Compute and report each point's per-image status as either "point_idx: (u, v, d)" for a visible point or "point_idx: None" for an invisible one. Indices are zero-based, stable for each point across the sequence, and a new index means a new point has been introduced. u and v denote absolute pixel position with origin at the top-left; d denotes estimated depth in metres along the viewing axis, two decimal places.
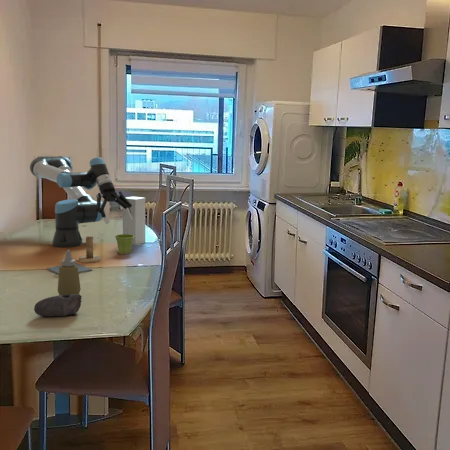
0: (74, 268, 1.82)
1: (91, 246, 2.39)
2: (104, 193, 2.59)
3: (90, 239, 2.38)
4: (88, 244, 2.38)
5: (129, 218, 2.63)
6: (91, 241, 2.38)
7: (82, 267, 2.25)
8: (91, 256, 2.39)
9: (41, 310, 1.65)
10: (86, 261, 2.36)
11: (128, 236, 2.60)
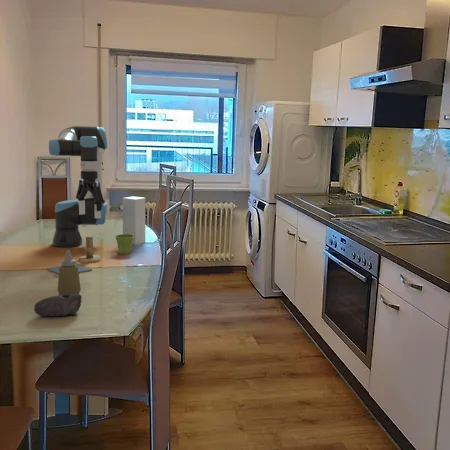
0: (74, 268, 1.82)
1: (91, 246, 2.39)
2: (83, 181, 2.36)
3: (90, 239, 2.38)
4: (88, 244, 2.38)
5: None
6: (91, 241, 2.38)
7: (82, 267, 2.25)
8: (91, 256, 2.39)
9: (41, 310, 1.65)
10: (86, 261, 2.36)
11: (128, 236, 2.60)
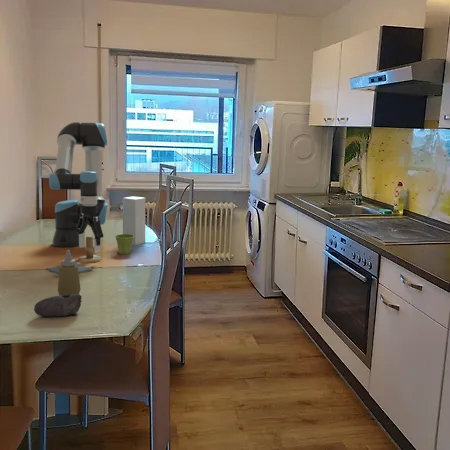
0: (74, 268, 1.82)
1: (91, 246, 2.39)
2: (83, 215, 2.39)
3: (90, 239, 2.38)
4: (88, 244, 2.38)
5: None
6: (91, 241, 2.38)
7: (82, 267, 2.25)
8: (91, 256, 2.39)
9: (41, 311, 1.65)
10: (86, 261, 2.36)
11: (128, 236, 2.60)
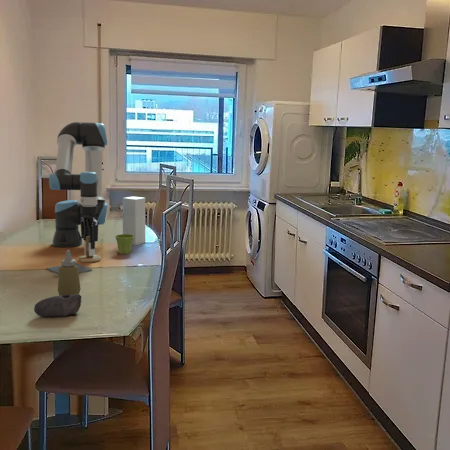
0: (74, 268, 1.82)
1: None
2: (83, 216, 2.39)
3: None
4: (88, 244, 2.38)
5: None
6: None
7: (82, 267, 2.25)
8: (91, 256, 2.39)
9: (41, 311, 1.65)
10: (86, 261, 2.36)
11: (128, 236, 2.60)
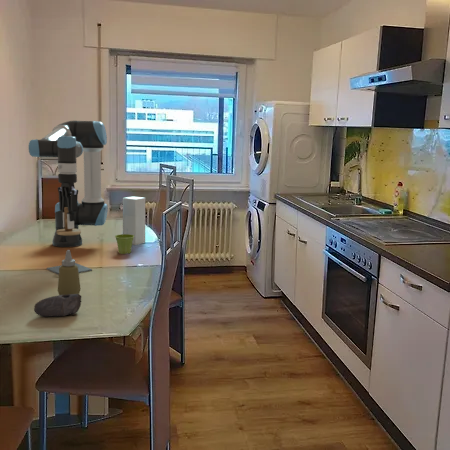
0: (74, 268, 1.82)
1: None
2: (61, 185, 2.18)
3: None
4: None
5: None
6: None
7: (82, 267, 2.25)
8: (70, 229, 2.19)
9: (41, 310, 1.65)
10: (64, 234, 2.15)
11: (128, 236, 2.60)
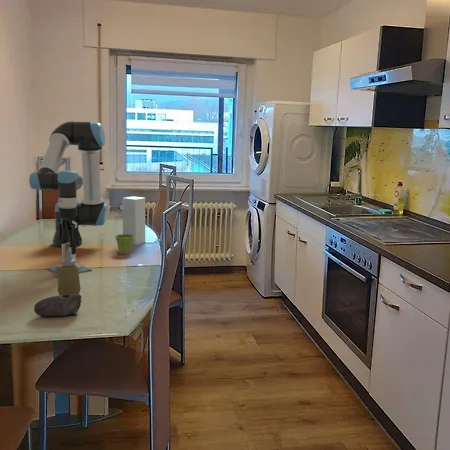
0: (74, 268, 1.82)
1: None
2: (61, 218, 2.20)
3: None
4: None
5: None
6: None
7: (82, 267, 2.25)
8: None
9: (41, 311, 1.65)
10: None
11: (128, 236, 2.60)
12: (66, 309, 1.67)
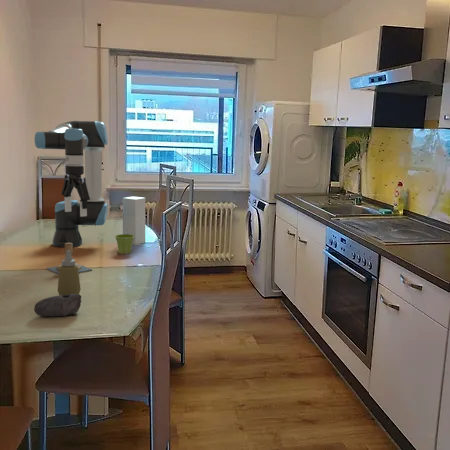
0: (74, 268, 1.82)
1: None
2: (68, 177, 2.21)
3: (69, 246, 2.20)
4: None
5: None
6: (70, 248, 2.20)
7: (82, 267, 2.25)
8: None
9: (41, 311, 1.65)
10: None
11: (128, 236, 2.60)
12: (66, 309, 1.67)
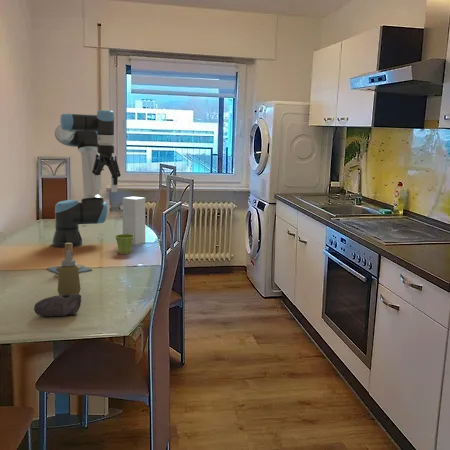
0: (74, 268, 1.82)
1: None
2: (100, 155, 2.38)
3: (69, 246, 2.19)
4: None
5: None
6: (70, 248, 2.20)
7: (82, 267, 2.25)
8: None
9: (41, 310, 1.65)
10: None
11: (128, 236, 2.60)
12: (66, 309, 1.67)
